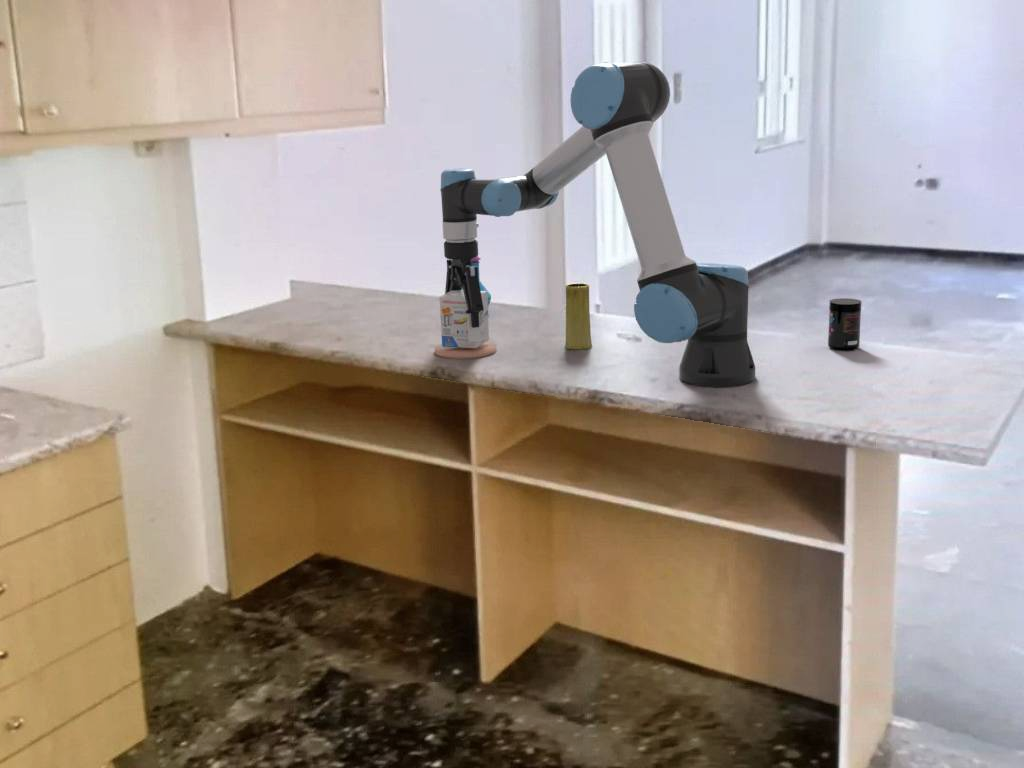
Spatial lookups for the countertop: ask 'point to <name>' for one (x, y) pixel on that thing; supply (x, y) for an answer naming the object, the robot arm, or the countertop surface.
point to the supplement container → (844, 324)
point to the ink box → (460, 320)
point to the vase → (577, 317)
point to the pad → (466, 351)
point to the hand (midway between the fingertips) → (465, 336)
